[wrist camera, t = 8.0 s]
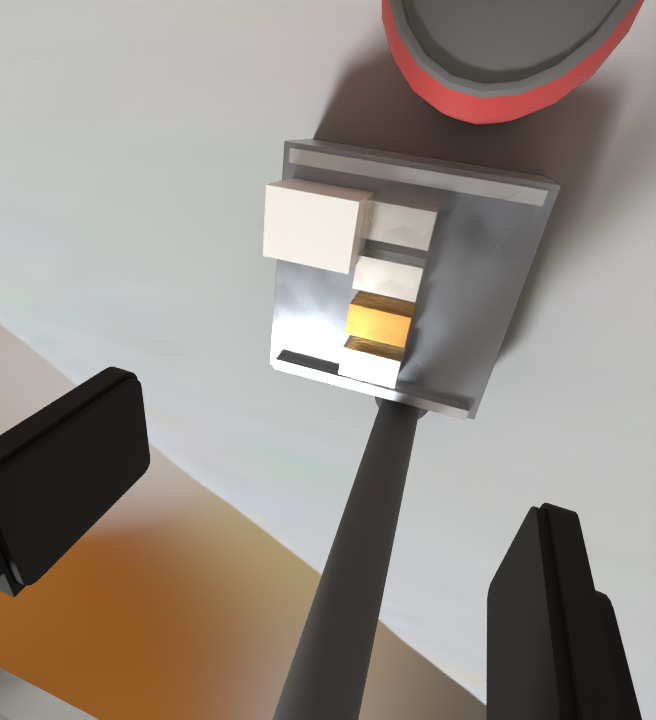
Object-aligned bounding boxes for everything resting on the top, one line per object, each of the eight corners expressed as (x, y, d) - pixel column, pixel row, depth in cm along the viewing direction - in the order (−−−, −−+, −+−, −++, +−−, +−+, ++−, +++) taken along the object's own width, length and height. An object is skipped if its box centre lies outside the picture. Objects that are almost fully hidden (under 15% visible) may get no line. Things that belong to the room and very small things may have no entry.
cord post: (438, 376, 27) (377, 776, 10) (424, 421, 29) (355, 823, 12) (382, 362, 28) (242, 715, 11) (373, 406, 30) (239, 768, 13)
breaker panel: (547, 176, 21) (568, 190, 16) (474, 382, 27) (473, 437, 22) (312, 139, 23) (270, 141, 18) (293, 336, 29) (258, 377, 24)
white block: (374, 192, 20) (359, 202, 17) (363, 256, 21) (348, 274, 19) (292, 177, 20) (266, 184, 18) (287, 240, 22) (262, 255, 19)
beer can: (470, -90, 17) (463, -390, 7) (617, -19, 17) (822, -229, 7) (394, 88, 21) (319, 51, 11) (516, 149, 21) (554, 170, 11)
